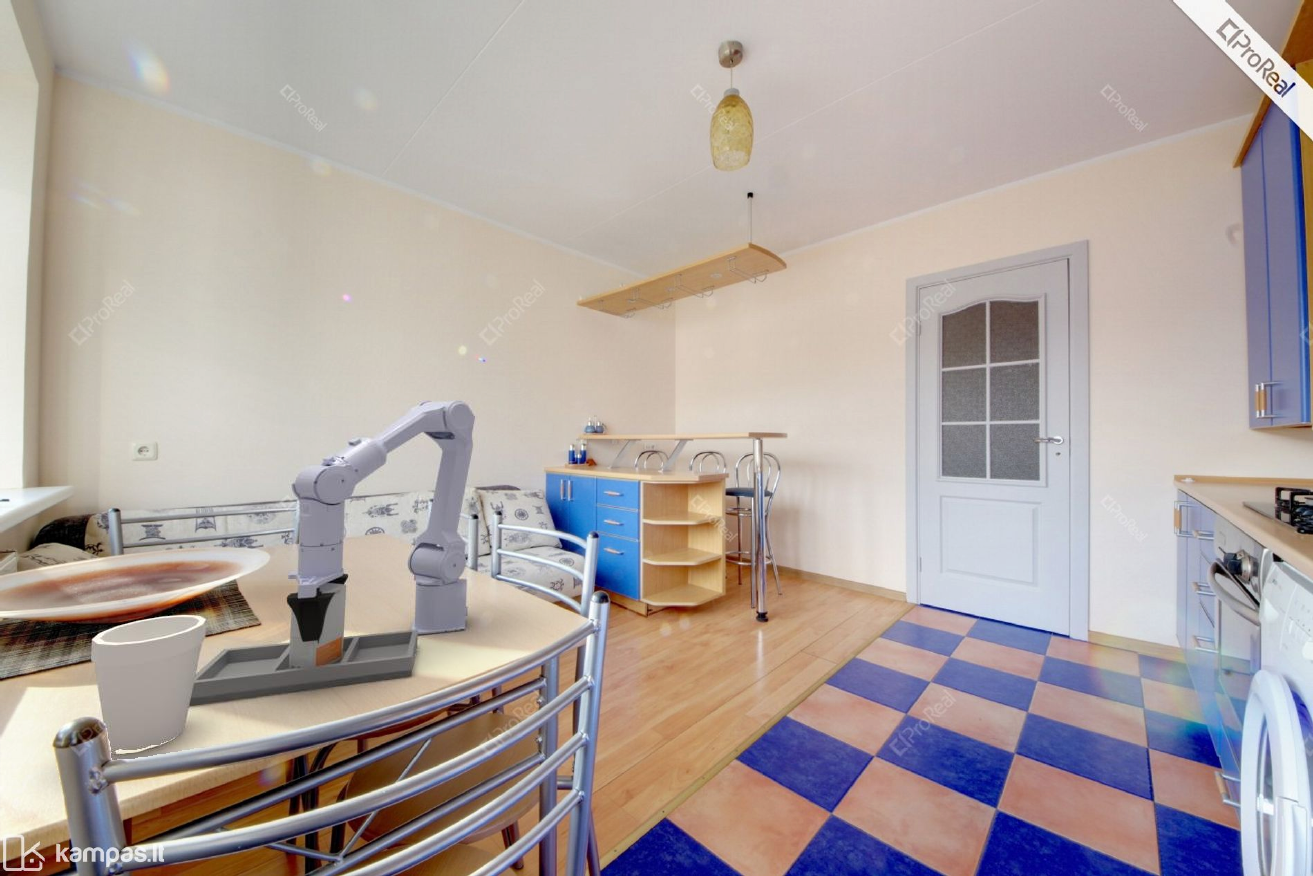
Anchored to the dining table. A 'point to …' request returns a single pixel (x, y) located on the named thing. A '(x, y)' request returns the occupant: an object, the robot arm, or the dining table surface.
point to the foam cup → (147, 678)
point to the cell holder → (270, 673)
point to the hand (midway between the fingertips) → (318, 630)
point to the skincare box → (331, 637)
